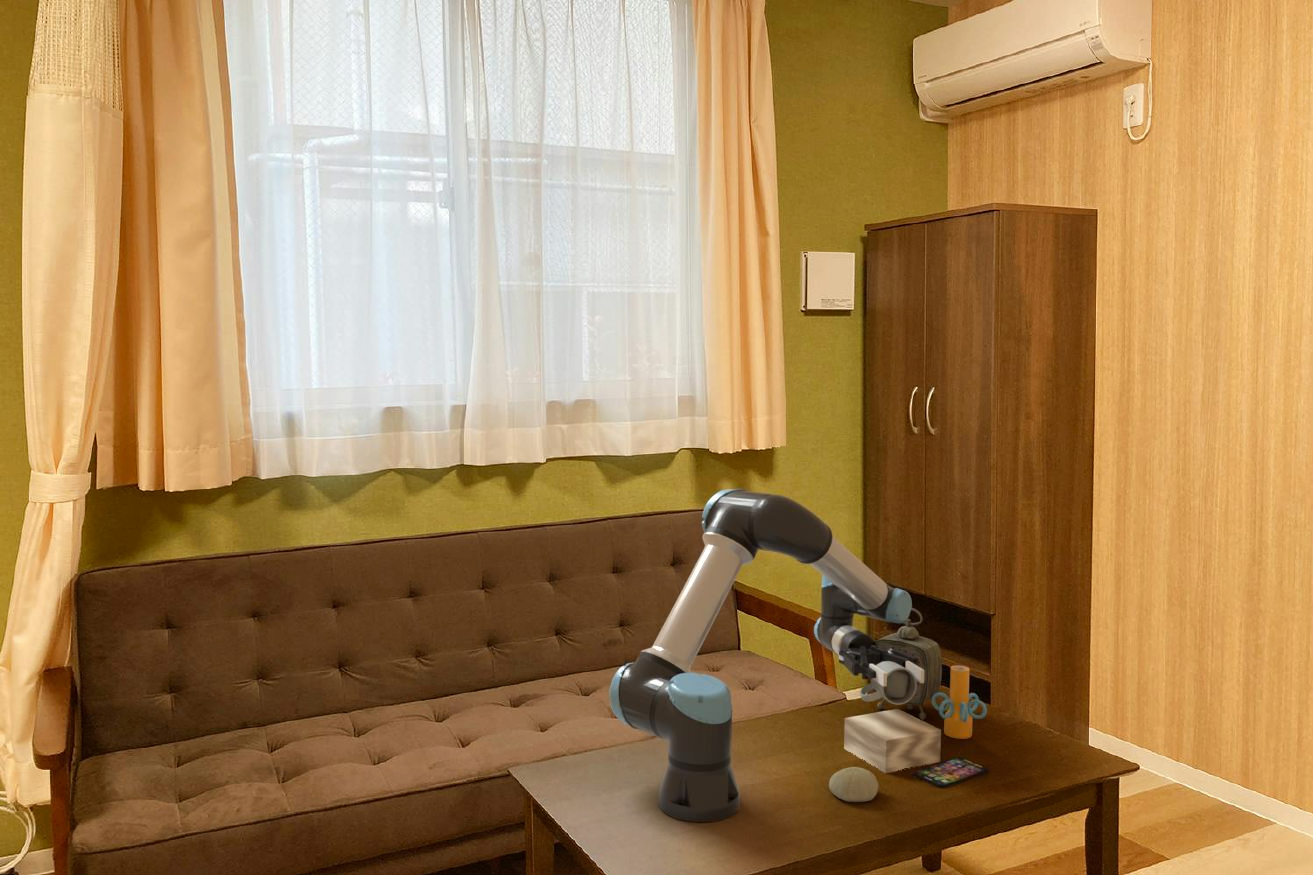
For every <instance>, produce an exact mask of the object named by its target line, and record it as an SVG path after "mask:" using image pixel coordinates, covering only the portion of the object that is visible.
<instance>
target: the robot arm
mask: <svg viewBox="0 0 1313 875" xmlns="http://www.w3.org/2000/svg"><path fill="white" fill-rule="evenodd" d="M701 516H702V519H703V520H702V521H701V527H702V530H703V534H702V536H701V537H702V541H703V544H704V548H703V550H702V552H701V554H700V556H699V558H698V560H697V561H696V563H695V565H694V567H693V568H692V571H691V573H690V575H689V576H688V578H687V581H686V582H685V584H684V586H683V588H682V589H681V592H680V594H679V595H678V598H677V599H676V600H675V603H674V605H673V607H672V608H671V611H670V613H669V614H668V616H667V618H666V620H665V621H664V624H663V626H662V627H661V629H660V631H659V633H658V635H657V637H656V639H655V640H654V643H653V645H652V646H651V647H649V648H646V649H642V650H641V651H640V652H639V654H638V656H637V658H636V660H635V662H628V663H626V664H625V665H622V666H620V667H619V668H618V670H617V671H616V672H615V674H613V677H612V679H611V683H610V687H609V700H610V707H611V710H612V713H613V714H614V716H615V717H616V719H617V720H619V721H620V722H622V723H624V724H626V725H628V726H629V727H630V728H632V729H634V730H640V731H642V732H645V733H648V734H649V735H652V736H654V737H657V738H660V739H662V740H665V741H667V742H668V744H667V745H668V746H667V747H668V750H667V752H668V757H667V758H668V760H667V761H668V763H667V765H666V769H665V771H664V775H663V777H662V781H661V784H660V785H659V786H660V787H659V789H658V808H660V810H661V811H662V812H663V813H665V814H666V815H668V816H670V817H672V818H675V819H677V820H682V821H687V822H694V823H695V822H696V823H697V822H698V823H706V822H707V823H709V822H715V821H721V820H725V819H728V818H729V817H732V816H733V815H735V814H736V813H737V812H739V809H740V806H741V804H740V803H741V800H740V799H741V797H740V795H741V794H740V789H739V786H738V782H737V780H736V778H735V774H734V770H733V766H732V732H733V731H732V729H733V704H732V694H731V690H730V688H729V687H728V685H727V684H726V683H725V682H723V681H722V680H721V679H719V678H717V677H716V676H712V675H709V674H705V673H697V672H692V670H691V667H692V665H693V664H694V661H695V659H696V657H697V655H698V653H699V651H700V649H701V647H702V646H703V643H704V642H705V640H706V638H707V635H708V633H709V632H710V630H711V628H712V626H713V623H714V622H715V620H716V618H717V616H718V615H719V614H718V613H719V612H720V610H721V608H722V606H723V604H724V602H725V600H726V598H727V596H728V594H729V592H730V591H731V589H732V586H733V584H734V583H735V581H736V578H737V577H738V574H739V573H740V571H741V569H742V567H743V566H747V565H750V564H752V563H753V561H755V560H754V559H755V558H756V556H757V554H758V551H759V550H761V551H765V552H766V551H767V552H772V553H778V554H782V555H785V556H789V557H791V558H793V559H794V560H796V561H797V562H798V563H801V564H802V565H809V566H811V567H812V568H813V569H815V570H816V571H817V572H819V574H821V575H822V578H821V586H820V589H821V590H820V592H821V593H820V594H821V596H820V599H821V602H820V603H821V605H820V617H819V618H818V619H817V620H816V622H815V624H814V626H813V633H814V636H815V639H816V640H817V641H818V642H819V643H820V644H821V645H822V647H823V648H825V649H827V650H829V651H831V652H832V653H835V655H837V656H838V663H839V664H841V665H843V666H845V668H847V670H848V671H849V672H850V674H852V675H853V676H855V677H856V676H860V675H859V674H861V679H862V680H868V679H871V678H872V679H873V680H875V681H876V682H878V683H879V684H880V685H882V686H887V673H886V672H884V671H883V670H881V669H880V668H878V667H877V666H875V664H879V663H881V661H882V662H884V661H891V662H894V663H897V664H899V665H900V666H902V667H904V668H906V669H908V670H910V671H911V672H912V673H913V674H914V676H915V678H916V681H918V682H920V683H924V670H923V669H922V668H920V667H919V659H918V658H916V657H913V656H911V655H909V654H906V653H904V652H902V651H900V650H898V649H897V648H896V647H891V649H890V651H887V650H885V649H883V648H880V647H878V646H877V644H876V643H875V641H876V640H874V638H873V637H872V636H870V635H868V634H867V633H866V632H864V631H862V630H861V629H858V628H857V627H854V615H857V616H858V615H859V616H862V617H866V618H871V619H876V620H880V621H884V622H887V623H893V624H894V623H896V624H902V622H904V621H905V622H906V620H907V619H909V617H910V614H911V612H912V611H911V608H913V603H912V597H911V595H910V594H909V592H907V591H906V590H903V589H901V588H899V587H892V586H890V585H889V584H887V582H885V581H884V580H883V579H882V578H881V577H880V576H878V575H877V574H876V573H875V572H874V571H873V570H872V569H871V568H869V567H868V565H866V564H865V563H864V562H862V561H861V559H859V558H858V557H857V556H856V555H854V553H852V552H851V551H850V550H849V549H848V548H846V547H845V545H843V544H842V543H841V542H839V541H838V540H837V539H836V538H835V537H834V534H833V530H832V529H831V527H830V526H829V525H828V524H827V523H826V522H825V521H824V520H822V519H821V518H820V517H818V515H816V514H815V513H813V512H812V511H811V510H810V509H808V508H807V507H805V505H804V506H803V504H800V503H799V502H797V501H796V500H793V499H792V498H790V497H787V496H784V495H781V494H775V493H774V494H773V493H772V494H771V493H766V492H765V493H764V492H757V491H752V490H751V491H749V490H746V489H743V488H735V489H731V488H729V489H728V488H727V489H722V490H720V491H718V492H717V493H715V494H713V495H712V497H710V498H709V500H708V501H707V503H706V504H705V506H704V509H703V512H702V515H701Z"/></svg>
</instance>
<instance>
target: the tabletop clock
mask: <svg viewBox="0 0 1313 875" xmlns="http://www.w3.org/2000/svg"><path fill="white" fill-rule="evenodd" d="M910 612H914V613H916V614H917V615H918V616H919V619H920V621H918V622H912V620H911V619H910V618H907V619H906V620H905V621H904V622H902V623H901V624H903V625H904V626H901V627H900V628H898V630H897V631H896V632H895V633H891V634H887V635H886V636H883V637H882V638H879V639H876V640H874V641H875V643H876V644H877V646H878V647H880V648H883V649H885V650H887V651H890V649H891V647H896V648H897V649H898V650H900V651H902V652H904V653H906V654H909V655H911V656H913V657H916V658H918V659H919V667H920V668H922V669H923V670H924V683H920V682H918V681H916V682H917V687H916V692H915V694H914V696H913V697H912V699H911V700H910V701H908V702H907V703H905V705H906V707H907V709H908V710H913V709H914V708H915V706H917V705H918V708H919V711H920V713H919V714H918V717H919V718H918V719H920V720H922V721H924V720H925V719H927V714H926V713H925V712H924V709H923V708H924V707H923V704H925V703H926V702H928V701H930V700H932V697H933V696H934V694H936V693H940V692H939V691H940V689H941V688H940V687H941V683H942V682H941V681H942V674H943V667H942V666H943V664H942V663H943V661H942V652H941V649H940V646H939V643H937V642H936V641H934V640H933V639H932V638H931V639H930V638H927V637H924V636H920V634H919V631H918V630H917V629H916V626H919V625H920V624H922V622H923V619H924V618H923V616H922V613H921V612H920V611H919V610H917V609H916V608H913V607H912V608H911V611H910ZM881 662H882V661H881ZM876 665H877V664H875V666H876ZM873 691H874V692H873V693H875V692H877V691H876V690H875V689H873ZM885 702H887V700H885V699H884V698H883V699H882V701H879V702H877V706H876V707H877V708H878V709H879V710H882V709H884V708H885V704H884V703H885ZM914 705H915V706H914Z"/></svg>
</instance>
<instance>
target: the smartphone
mask: <svg viewBox="0 0 1313 875" xmlns="http://www.w3.org/2000/svg"><path fill="white" fill-rule="evenodd" d="M989 770H990V769H989V768H988V767H987V766H985V765H982V764H980V763H978V762H975V761H973V760H970V759H967V758H965V757H962V756H961V757H960V756H959V757H955V758H952V759H948V760H945V761H943V762H938V763H937V764H936V763H935V764H933V765H930V766H927V767H924V768H921V769H918V770H916V771H913V773H912V775H913V777H914V776H915V777H914V778H916V779H918V780H920V781H923V780H924V781H923V782H925V781H926V783H927V782H928V784H929V783H930V784H929V785H931V786H933V787H937V788H938V789H943V788H948V787H950V786H953V785H957V784H959V783H963V782H965V781H968V780H971V779H974V778H976V777H979V776H982V775H985V774H988V773H989Z"/></svg>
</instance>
